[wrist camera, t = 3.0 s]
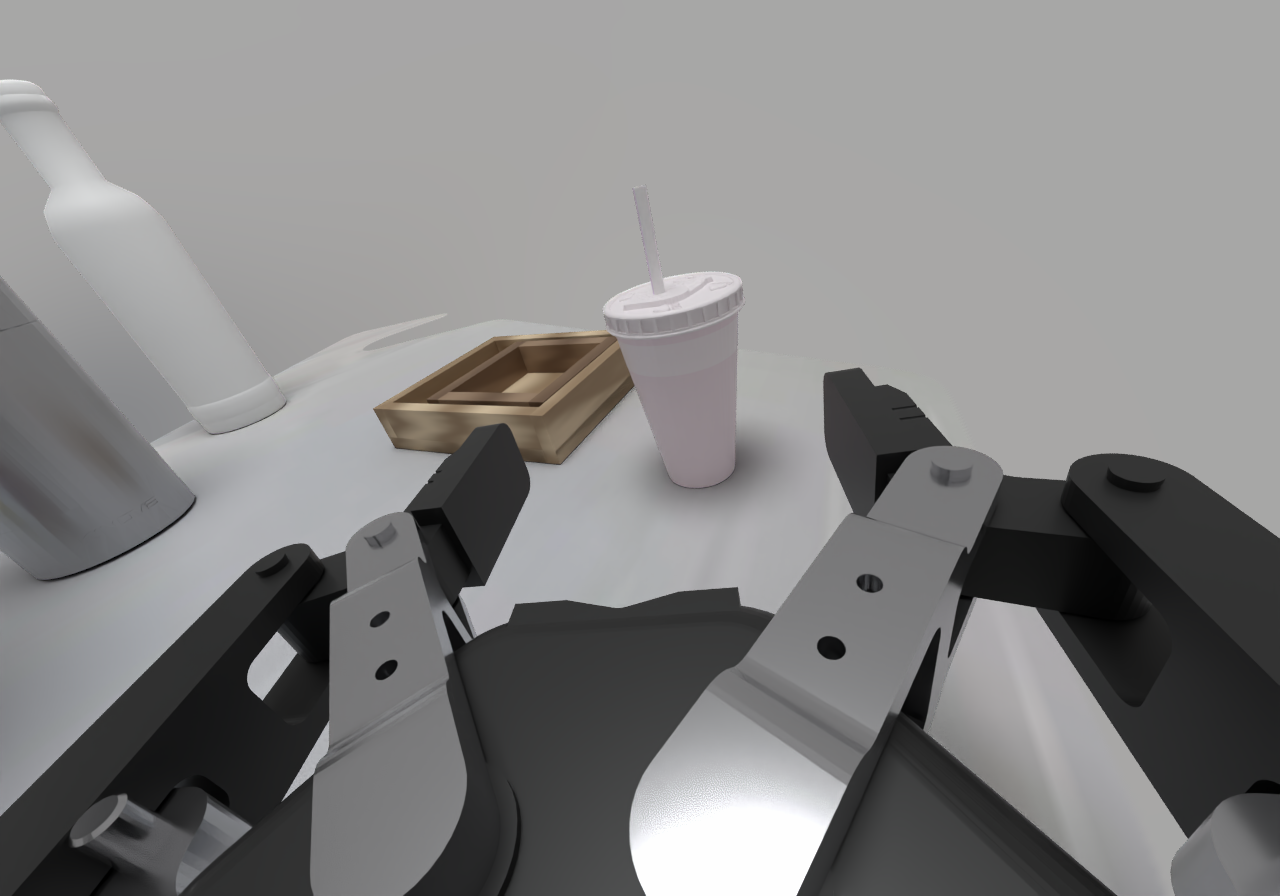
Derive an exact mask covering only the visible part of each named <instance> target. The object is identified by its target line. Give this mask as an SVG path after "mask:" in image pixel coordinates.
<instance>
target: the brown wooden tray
mask: <svg viewBox="0 0 1280 896" xmlns="http://www.w3.org/2000/svg"><path fill="white" fill-rule="evenodd" d="M633 386H634V383H633V380H632V377H631V375H630V372H629V370H628V367H627V365H626V362H625V360H624V357H623V354H622V351H621V348H620V346H619V343H618V340H617V338H616V337H615V336H612V335H611V334H610V333H609V332H607V330H601V331H584V332H568V333H551V334H534V335H518V336H501V337H493V338H491V339H489V340H488V341H486V342H484V343H483V344H481V345H479V346H478V347H476V348H474V349H473V350H471V351H469V352H468V353H466V354H464V355H463V356H461V357H459V358H458V359H456V360H454V361H452V362H451V363H449V364H447V365H446V366H444V367H442V368H441V369H439V370H437V371H436V372H434V373H432V374H431V375H429V376H427V377H426V378H424V379H422V380H421V381H419V382H417V383H415V384H414V385H412V386H410V387H409V388H407V389H405V390H404V391H402V392H400V393H399V394H397V395H395V396H394V397H392V398H390V399H389V400H387V401H385V402H384V403H382V404H380V405H378V406H377V407H375V408H373V410H374V411H375V413H376V415H377V417H378V418H379V420H380V422H381V424H382V425H383V427H384V429H385V431H386V432H387V434H388V436H389V438H390V439H391V441H392V443H393V445H394V446H395V448H401V449H411V450H421V451H431V452H441V453H451V454H453V453H454V452H456V451H457V450H458V449H459V448H460V447H461V445H462V444H463V443H464V442H465V440H466V439H467V438H468V436H469V435H470V434H471V433H472V431H473V430H474V429H475V428H476V427H480V426H487V425H493V424H499V423H505V424H507V425H508V426H509V428H510V429H511V431H512V433H513V436H514V438H515V441H516V443H517V446H518V448H519V450H520V453H521V455H522V458H523V460H524V461H531V462H541V463H551V464H561V463H562V462H563V461H564V460H565V459H566V458H567V457H568V456H569V454H570V453H571V452H572V451H573V450H574V449H575V448H576V447H577V446H578V445H579V444H580V443H581V442H582V441H583V440H584V438H585V437H586V436H587V435H588V434H589V433H590V432H591V431H592V430H593V429H594V428H595V427H596V426H597V425H598V424H599V422H600V421H601V420H602V419H603V418H604V417H605V416H606V415H607V414H608V413H609V412H610V411H611V410H612V409H613V408H614V406H615V405H616V404H617V403H618V402H619V401H620V400H621V399H622V398H623V397H624V396H625V395H626V394H627V393H628V392H629V390H630V389H631V388H632V387H633Z"/></svg>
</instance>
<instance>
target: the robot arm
mask: <svg viewBox="0 0 1280 896" xmlns="http://www.w3.org/2000/svg"><path fill="white" fill-rule="evenodd" d="M823 389H824V433H825V442H826V448H827V452H828V455H829V458H830V460H831V462H832V465H833V467H834V469H835V471H836V474H837V476H838V478H839V481H840V483H841V485H842V487H843V490H844V492H845V494H846V496H847V499H848V501H849V503H850V505H851V508H852V510H853V512H854V513H851V514H849V515H848V516H847V517H846V518H845V519H844V520H843V521H842V523H841V524H840V525H839V527H838V528H837V530H836V531H835V532H834V534H833V535H832V537H831V538H830V539H829V541H828V542H827V544H826V545H825V546H824V548H823V549H822V550H821V552H820V553H819V555H818V556H817V557H816V559H815V560H814V562H813V563H812V564H811V566H810V567H809V568H808V570H807V571H806V573H805V574H804V575H803V577H802V578H801V580H800V581H799V582H798V584H797V585H796V587H795V588H794V589H793V591H792V592H791V593H790V595H789V596H788V598H787V599H786V600H785V602H784V603H783V605H782V606H781V607H780V609H779V610H778V611H777V613H776V614H772V613H769V612H767V611H763V610H759V609H756V608H751V607H746V606H741V604H740V598H739V592H738V587H734V588H721V589H708V590H695V591H682V592H676V593H673V594H669V595H666V596H662V597H659V598H656V599H652V600H649V601H645V602H642V603H638V604H635V605H631V606H628V607H624V608H611V607H605V606H599V605H592V604H586V603H580V602H574V601H568V600H563V601H550V602H537V603H523V604H515V607H514V609H513V612H512V615H511V617H510V620H509V622H508V623H506V624H503V625H500V626H498V627H495V628H493V629H491V630H489V631H487V632H485V633H483V634H481V635H479V636H477V635H476V632H475V629H474V627H473V624H472V621H471V619H470V616H469V613H468V610H467V608H466V605H465V603H464V601H463V599H462V598H461V596H460V594H459V593H460V591H461V589H462V588H463V587H475V586H485V584H486V582H487V580H488V578H489V576H490V574H491V571H492V569H493V567H494V565H495V563H496V561H497V559H498V557H499V555H500V553H501V550H502V548H503V546H504V544H505V542H506V540H507V538H508V536H509V534H510V532H511V529H512V527H513V525H514V523H515V521H516V519H517V517H518V515H519V513H520V511H521V509H522V506H523V504H524V502H525V500H526V498H527V496H528V494H529V490H530V477H529V473H528V470H527V467H526V465H525V462H524V460H523V458H522V455H521V453H520V450H519V448H518V446H517V443H516V441H515V438H514V436H513V433H512V431H511V429H510V428H509V426H508V425H507V424H505V423H499V424H493V425H487V426H480V427H476V428H475V429H474V430H473V431H472V433H471V434H470V435H469V436H468V438H467V439H466V440H465V442H464V443H463V444H462V445H461V447H460V448H459V449H458V450H457V451H456V452H454V453H453V454H452V455H450V456H449V457H448V458H446V459H445V460H444V462H443V463H442V464H441V465H440V467H439V468H438V469H437V470H436V474H433V475H432V477H431V478H430V479H429V480H428V484H425V485H424V487H423V488H422V489H421V490H420V492H419V493H418V494H417V495H416V497H415V498H414V499H413V501H412V502H411V503H410V504H409V506H408V507H407V508H406V509H405V511H404V512H397V513H392V514H388V515H385V516H382V517H380V518H378V519H376V520H374V521H372V522H370V523H369V524H367V525H366V526H364V527H363V528H361V529H360V530H359V531H358V532H357V533H356V534H354V535H353V537H352V538H351V539H350V540H349V542H348V544H347V546H346V551H345V552H342V553H338V554H335V555H332V556H329V557H326V558H323V559H319V558H318V557H317V556H316V554H315V553H314V552H313V550H312V549H311V548H310V547H309V546H308V545H307V544H301V543H300V544H293V545H289V546H286V547H283V548H281V549H278V550H276V551H274V552H272V553H270V554H269V555H267V556H265V557H264V558H262V559H260V560H259V561H258V562H256V563H255V564H254V565H252V566H251V567H250V568H249V569H248V570H247V571H245V572H244V573H243V574H242V575H241V576H240V577H239V578H238V579H237V580H236V581H235V582H234V583H233V584H232V585H231V586H230V587H229V588H228V589H227V590H226V591H225V592H224V593H223V594H222V595H221V596H220V597H219V598H218V599H217V600H216V601H215V602H214V603H213V604H212V605H211V606H210V607H209V608H208V609H207V610H206V611H205V612H204V613H203V614H202V615H201V616H200V617H199V618H198V619H197V620H196V621H195V622H194V623H193V624H192V625H191V626H190V627H189V628H188V629H187V630H186V631H185V632H184V633H183V634H182V635H181V636H180V637H179V638H178V639H177V640H176V641H175V642H174V643H173V644H172V645H171V646H170V647H169V648H168V649H167V650H166V651H165V652H164V653H163V654H162V655H161V656H160V657H159V658H158V659H157V660H156V661H155V662H154V663H153V664H152V665H151V666H150V667H149V668H148V669H147V670H146V671H145V672H144V673H143V674H142V675H141V676H140V677H139V678H138V679H137V680H136V681H135V682H134V683H133V684H132V685H131V686H130V687H129V688H128V689H127V690H126V691H125V692H124V693H123V694H122V695H121V696H120V697H119V698H118V699H117V700H116V701H115V702H114V703H113V704H112V705H111V706H110V707H109V708H108V709H107V710H106V711H105V712H104V713H103V714H102V715H101V716H100V717H99V718H98V719H97V720H96V721H95V722H94V723H93V724H92V725H91V726H90V727H89V728H88V729H87V730H86V731H85V732H84V733H83V734H82V735H81V736H80V737H79V738H78V739H77V740H76V741H75V742H74V743H73V744H72V745H71V746H70V747H69V748H68V749H67V750H66V751H65V752H64V753H63V754H62V755H61V756H60V757H59V758H58V759H57V760H56V761H55V762H54V763H53V764H52V765H51V766H50V767H49V768H48V769H47V770H46V771H45V772H44V773H43V774H42V775H41V776H40V777H39V778H38V779H37V780H36V781H35V782H34V783H33V784H32V785H31V786H30V787H29V788H28V789H27V790H26V791H25V792H24V793H23V794H22V795H21V796H20V797H19V798H18V799H17V800H16V801H15V802H14V803H13V804H12V805H11V806H10V807H9V808H8V809H7V810H6V811H5V812H4V813H3V814H2V815H1V816H0V896H1117V895H1116V894H1115V893H1113V892H1112V891H1111V890H1110V889H1109V888H1108V887H1106V886H1105V885H1104V884H1103V883H1102V882H1101V881H1099V880H1098V879H1097V878H1096V877H1095V876H1093V875H1092V874H1091V873H1090V872H1089V871H1088V870H1086V869H1085V868H1084V867H1083V866H1082V865H1081V864H1079V863H1078V862H1077V861H1076V860H1075V859H1074V858H1072V857H1071V856H1070V855H1069V854H1068V853H1067V852H1065V851H1064V850H1063V849H1062V848H1061V847H1059V846H1058V845H1057V844H1056V843H1055V842H1054V841H1052V840H1051V839H1050V838H1049V837H1048V836H1047V835H1045V834H1044V833H1043V832H1042V831H1041V830H1040V829H1038V828H1037V827H1036V826H1035V825H1034V824H1033V823H1031V822H1030V821H1029V820H1028V819H1027V818H1025V817H1024V816H1023V815H1022V814H1021V813H1020V812H1018V811H1017V810H1016V809H1015V808H1014V807H1013V806H1011V805H1010V804H1009V803H1008V802H1007V801H1006V800H1004V799H1003V798H1002V797H1001V796H1000V795H999V794H997V793H996V792H995V791H994V790H993V789H991V788H990V787H989V786H988V785H987V784H986V783H984V782H983V781H982V780H981V779H980V778H979V777H977V776H976V775H975V774H974V773H973V772H972V771H970V770H969V769H968V768H967V767H966V766H965V765H963V764H962V763H961V762H960V761H959V760H957V759H956V758H955V757H954V756H953V755H952V754H950V753H949V752H948V751H947V750H946V749H945V748H943V747H942V746H941V745H940V744H939V743H938V742H936V741H935V740H934V739H933V738H932V737H931V736H929V735H928V732H929V729H930V727H931V724H932V721H933V718H934V715H935V712H936V709H937V706H938V702H939V699H940V695H941V692H942V688H943V685H944V682H945V679H946V676H947V673H948V670H949V668H950V665H951V663H952V660H953V658H954V655H955V653H956V650H957V648H958V645H959V642H960V640H961V637H962V635H963V632H964V630H965V627H966V625H967V622H968V620H969V617H970V615H971V612H972V609H973V607H974V604H975V602H976V599H977V598H983V599H989V600H995V601H1001V602H1007V603H1013V604H1019V605H1024V606H1030V607H1036V609H1037V611H1038V612H1039V614H1040V615H1041V617H1042V618H1043V620H1044V621H1045V623H1046V624H1047V626H1048V627H1049V629H1050V630H1051V632H1052V633H1053V635H1054V636H1055V638H1056V639H1057V641H1058V642H1059V644H1060V646H1061V647H1062V649H1063V650H1064V652H1065V653H1066V655H1067V656H1068V658H1069V659H1070V661H1071V662H1072V664H1073V665H1074V667H1075V668H1076V670H1077V671H1078V673H1079V674H1080V676H1081V677H1082V679H1083V680H1084V682H1085V683H1086V685H1087V686H1088V688H1089V689H1090V691H1091V693H1092V694H1093V696H1094V697H1095V698H1096V700H1097V702H1098V703H1099V705H1100V706H1101V708H1102V709H1103V711H1104V712H1105V714H1106V715H1107V717H1108V718H1109V720H1110V721H1111V723H1112V724H1113V726H1114V727H1115V729H1116V730H1117V732H1118V733H1119V735H1120V736H1121V738H1122V739H1123V741H1124V743H1125V744H1126V746H1127V747H1128V749H1129V750H1130V752H1131V753H1132V755H1133V756H1134V758H1135V759H1136V761H1137V762H1138V764H1139V765H1140V767H1141V768H1142V770H1143V771H1144V773H1145V774H1146V776H1147V777H1148V779H1149V780H1150V782H1151V783H1152V785H1153V786H1154V788H1155V789H1156V791H1157V792H1158V794H1159V796H1160V797H1161V799H1162V800H1163V802H1164V803H1165V805H1166V806H1167V808H1168V809H1169V811H1170V812H1171V814H1172V815H1173V816H1174V818H1175V820H1176V821H1177V823H1178V824H1179V826H1180V827H1181V829H1182V830H1183V832H1184V833H1185V835H1186V836H1187V838H1188V840H1187V841H1186V842H1185V843H1184V844H1183V846H1182V847H1181V848H1180V849H1179V850H1178V851H1177V852H1176V854H1175V856H1174V858H1173V860H1172V866H1171V882H1172V887H1173V890H1174V894H1175V896H1280V538H1278V537H1277V536H1275V535H1274V534H1273V533H1271V532H1270V531H1268V530H1267V529H1266V528H1264V527H1263V526H1262V525H1260V524H1259V523H1257V522H1256V521H1255V520H1253V519H1252V518H1251V517H1249V516H1248V515H1246V514H1245V513H1244V512H1242V511H1241V510H1239V509H1238V508H1236V507H1235V506H1234V505H1232V504H1231V503H1230V502H1228V501H1227V500H1226V499H1224V498H1223V497H1221V496H1220V495H1219V494H1217V493H1216V492H1214V491H1213V490H1212V489H1210V488H1209V487H1208V486H1206V485H1205V484H1203V483H1202V482H1201V481H1199V480H1198V479H1196V478H1195V477H1194V476H1192V475H1191V474H1189V473H1187V472H1186V471H1184V470H1182V469H1180V468H1178V467H1175V466H1173V465H1170V464H1168V463H1164V462H1161V461H1158V460H1155V459H1150V458H1147V457H1142V456H1136V455H1128V454H1097V455H1091V456H1087V457H1083V458H1081V459H1078V460H1077V461H1075V462H1074V463H1073V464H1072V465H1071V466H1070V469H1069V472H1068V476H1067V479H1066V481H1063V480H1049V479H1033V478H1021V477H1012V476H1006V475H1003V471H1002V469H1001V467H1000V466H999V464H998V463H997V462H996V461H994V460H993V459H992V458H990V457H988V456H986V455H985V454H983V453H980V452H978V451H975V450H971V449H967V448H963V447H956V446H952V445H951V444H950V443H949V442H948V440H947V439H946V438H945V437H944V436H943V435H942V434H941V432H940V431H939V430H938V429H937V428H936V427H935V426H934V424H933V423H932V422H931V421H930V420H929V419H928V418H926V417H925V414H924V413H923V412H922V411H921V410H920V408H919V407H918V408H917V405H916V404H915V403H914V402H913V400H912V399H911V398H910V397H909V396H908V395H907V394H906V393H905V392H902V391H900V390H898V389H896V388H894V387H892V386H889V385H881V386H874V385H873V384H872V382H871V381H870V380H869V378H868V377H867V376H866V375H865V373H864V372H863V371H862V369H861V368H854V369H847V370H841V371H835V372H828V373H825V375H824V381H823ZM194 497H195V495H194V494H193V493H192V492H191V491H190V489H189V488H188V487H187V486H186V485H185V484H184V483H183V481H182V480H181V479H180V478H179V477H178V476H177V475H176V473H175V472H174V471H173V470H172V469H171V468H170V467H169V465H168V464H167V463H166V462H165V461H164V460H163V459H162V457H161V456H160V455H159V454H158V453H157V451H156V450H155V449H154V448H153V447H152V446H151V445H150V443H149V442H148V441H147V440H146V439H145V438H144V437H143V436H142V435H141V433H139V431H138V430H137V429H136V428H135V427H134V425H133V424H132V423H131V422H130V421H129V420H128V419H127V418H126V417H125V415H124V414H123V413H122V412H121V411H120V410H119V409H118V408H117V406H116V405H115V404H114V403H113V402H112V401H111V400H110V398H109V397H108V396H107V395H106V394H105V393H104V392H103V391H102V390H101V388H100V387H99V386H98V385H97V384H96V383H95V382H94V380H93V379H92V378H91V377H90V376H89V375H88V374H87V373H86V371H85V370H84V369H83V368H82V367H81V366H80V365H79V364H78V362H77V361H76V360H75V359H74V358H73V357H72V356H71V355H70V354H69V352H68V351H67V350H66V349H65V348H64V347H63V346H62V344H61V343H60V342H59V341H58V340H57V339H56V338H55V337H54V335H53V334H52V333H51V332H50V331H49V330H48V329H47V328H46V326H45V325H44V324H43V323H42V322H41V321H39V320H38V318H37V317H36V316H35V315H34V313H33V312H32V311H31V310H30V309H29V308H28V307H27V306H26V304H25V303H24V302H23V301H22V300H21V299H20V298H19V297H18V295H17V294H16V293H15V292H14V291H13V290H12V289H11V288H10V286H9V285H8V284H7V283H6V282H5V281H4V280H3V279H2V277H1V276H0V550H1V551H2V552H3V553H4V554H6V555H7V556H8V557H10V558H11V559H12V560H13V561H15V562H16V563H17V564H18V565H20V566H21V567H22V568H24V569H25V570H26V571H27V572H29V573H30V574H31V575H33V576H34V577H35V578H37V579H42V580H48V579H54V578H59V577H63V576H67V575H70V574H74V573H77V572H79V571H82V570H85V569H88V568H90V567H93V566H95V565H97V564H100V563H102V562H104V561H107V560H109V559H111V558H113V557H115V556H117V555H119V554H121V553H123V552H125V551H127V550H129V549H131V548H133V547H134V546H136V545H138V544H140V543H142V542H143V541H145V540H147V539H148V538H150V537H152V536H153V535H155V534H156V533H158V532H160V531H161V530H163V529H164V528H165V527H167V526H168V525H170V524H171V523H172V522H174V521H175V520H176V519H177V518H179V517H180V516H181V515H182V514H183V513H184V512H185V511H186V510H187V509H188V508H189V507H190V506H191V504H192V503H193V501H194ZM276 632H278V633H279V634H280V635H281V636H282V637H283V638H284V639H285V640H286V641H287V642H288V643H289V644H290V645H291V646H292V647H293V649H294V650H295V651H296V652H297V654H296V656H295V657H294V658H293V660H292V661H291V663H290V664H289V665H288V667H287V668H286V669H285V671H284V672H283V674H282V675H281V676H280V678H279V679H278V680H277V682H276V683H275V684H274V686H273V687H272V689H271V690H270V691H269V693H268V694H267V695H266V697H265V698H264V700H263V701H262V700H261V699H260V698H259V697H258V696H257V695H255V694H254V693H253V692H252V691H251V690H250V688H249V686H248V683H247V674H248V670H249V667H250V665H251V663H252V662H253V660H254V659H255V658H256V657H257V655H258V654H259V653H260V652H261V650H262V649H263V648H264V647H265V645H266V644H267V643H268V642H269V640H270V639H271V638H272V637H273V635H274V634H275V633H276ZM328 721H329V748H328V752H327V754H326V755H325V756H324V757H323V758H322V759H320V761H319V762H318V764H317V766H316V769H315V773H314V774H313V775H312V776H311V777H310V778H309V779H307V780H306V781H305V782H304V783H303V784H302V785H301V786H299V787H298V788H297V789H296V790H295V791H294V792H292V793H291V794H290V795H289V796H288V797H287V798H286V799H284V800H283V798H284V796H285V794H286V793H287V791H288V789H289V788H290V786H291V784H292V783H293V781H294V779H295V777H296V776H297V774H298V772H299V771H300V769H301V767H302V765H303V764H304V762H305V760H306V759H307V757H308V755H309V754H310V752H311V750H312V748H313V747H314V745H315V743H316V742H317V740H318V738H319V737H320V735H321V733H322V731H323V730H324V728H325V726H326V725H327V723H328ZM282 800H283V801H282ZM281 801H282V802H281Z"/></svg>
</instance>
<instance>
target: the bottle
mask: <svg viewBox="0 0 1280 896" xmlns="http://www.w3.org/2000/svg"><path fill="white" fill-rule="evenodd" d="M0 123H1V124H2V125H3V127H4V128H5V129H6V131H7V132H8V133H9V134H10V136H11V137H12V138H13V140H14V141H15V142H16V144H17V145H18V146H19V148H20V149H21V150H22V152H23V153H24V154H25V155H26V157H27V158H28V159H29V161H30V162H31V163H32V165H33V166H34V167H35V169H36V170H37V171H38V173H39V174H40V175H41V176H42V178H43V179H44V180H45V182H46V183H47V184H48V186H49V187H50V188H51V192H50V194H49V197H48V200H47V203H46V206H45V208H44V215H45V219H46V222H47V225H48V228H49V230H50V233H51V235H52V238H53V240H54V241H55V243H56V244H57V245H58V246H59V248H60V249H61V250H62V251H63V253H64V254H65V255H66V256H67V258H68V259H69V260H70V261H71V262H72V264H73V265H74V266H75V268H76V269H77V270H78V271H79V273H80V274H81V275H82V276H83V277H84V279H85V280H86V281H87V282H88V284H89V285H90V286H91V288H92V289H93V290H94V291H95V293H96V294H97V295H98V296H99V298H100V299H101V300H102V301H103V303H104V304H105V305H106V306H107V308H108V309H109V310H110V311H111V313H112V314H113V315H114V316H115V317H116V319H117V320H118V321H119V323H120V324H121V325H122V326H123V328H124V329H125V330H126V331H127V333H128V334H129V335H130V336H131V338H132V339H133V340H134V341H135V343H136V344H137V345H138V346H139V348H140V349H141V350H142V351H143V353H144V354H145V355H146V356H147V358H148V359H149V360H150V361H151V363H152V364H153V365H154V366H155V367H156V369H157V370H158V371H159V373H160V374H161V375H162V376H163V378H164V379H165V380H166V381H167V382H168V384H169V385H170V386H171V387H172V389H173V390H174V391H175V392H176V394H177V395H178V396H179V397H180V399H181V400H182V401H183V403H184V404H185V405H186V407H187V409H188V411H189V412H190V413H191V415H192V416H193V417H194V418H195V419H196V420H197V421H198V422H199V423H200V424H201V425H202V426H203V428H204V429H205V430H206V431H207V432H209V433H211V434H219V433H225V432H229V431H233V430H236V429H239V428H242V427H245V426H248V425H250V424H253V423H255V422H257V421H260V420H262V419H264V418H266V417H268V416H270V415H272V414H273V413H275V412H276V411H278V410H279V409H281V408H282V407H283V406H284V405H285V403H286V399H285V397H284V396H283V394H282V393H281V391H280V388H279V387H278V385H277V383H276V382H275V380H274V379H273V378H272V376H271V375H269V374H268V372H267V370H266V369H265V368H264V366H263V365H262V363H261V362H260V360H259V359H258V357H257V356H256V354H255V353H254V351H253V350H252V348H251V347H250V345H249V344H248V342H247V341H246V339H245V338H244V336H243V335H242V334H241V332H240V330H239V329H238V327H237V326H236V324H235V323H234V321H233V320H232V318H231V317H230V315H229V314H228V312H227V311H226V310H225V308H224V307H223V305H222V304H221V302H220V301H219V299H218V298H217V296H216V295H215V293H214V292H213V290H212V289H211V287H210V286H209V284H208V283H207V281H206V280H205V278H204V277H203V275H202V274H201V272H200V271H199V269H198V268H197V266H196V265H195V263H194V262H193V260H192V259H191V257H190V256H189V254H188V253H187V251H186V250H185V248H184V247H183V245H182V244H181V242H180V241H179V239H178V238H177V236H176V235H175V234H174V232H173V231H172V229H171V228H170V226H169V225H168V223H167V222H166V220H165V219H164V218H163V217H162V216H161V215H160V214H159V213H158V212H157V211H156V210H155V209H154V208H153V207H152V206H150V205H149V204H148V203H147V202H146V201H145V200H143V199H142V198H141V197H140V196H139V195H137V194H135V193H132V192H130V191H128V190H126V189H124V188H121V187H119V186H117V185H114V184H113V183H110V182H108V181H106V180H105V178H104V177H103V175H102V174H101V172H100V171H99V170H98V168H97V167H96V165H95V164H94V162H93V161H92V160H91V158H90V157H89V155H88V154H87V152H86V151H85V150H84V148H83V147H82V145H81V144H80V143H79V141H78V140H77V138H76V137H75V136H74V134H73V133H72V131H71V130H70V128H69V127H68V126H67V124H66V123H65V121H64V120H63V118H62V117H61V116H60V114H59V110H58V107H57V106H56V105H55V103H54V102H53V101H51V100H50V99H49V98H48V97H47V96H46V94H45V93H44V91H43V90H42V89H41V87H39V86H38V85H36V84H33V83H32V82H29V81H23V80H0Z"/></svg>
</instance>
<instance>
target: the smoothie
mask: <svg viewBox="0 0 1280 896" xmlns="http://www.w3.org/2000/svg"><path fill="white" fill-rule="evenodd" d="M633 194H634V199H635V204H636V209H637V214H638V219H639V224H640V229H641V235H642V240H643V245H644V250H645V255H646V260H647V265H648V270H649V276H650V282H647V283H644V284H641V285H638V286H635V287H633V288H630V289H628V290H626V291H623V292H621V293H620V294H618V295H616V296H614V297H613V298H612V299H610V300H609V301H608V302H607V303H606V304H605V305H604V307H603V313H604V317H605V321H606V329H607V332H609V333H610V334H611V335H612V336H615V337H616V338H617V340H618V343H619V346H620V348H621V351H622V354H623V357H624V360H625V362H626V365H627V367H628V370H629V372H630V375H631V377H632V380H633V383H634V385H635V388H636V391H637V393H638V396H639V398H640V401H641V404H642V406H643V409H644V412H645V414H646V417H647V420H648V422H649V425H650V427H651V430H652V433H653V435H654V438H655V441H656V443H657V446H658V448H659V451H660V454H661V456H662V459H663V462H664V464H665V467H666V469H667V472H668V475H669V477H670V479H671V480H672V481H673V482H674V483H676V484H678V485H680V486H683V487H687V488H704V487H709V486H713V485H716V484H718V483H720V482H722V481H724V480H725V479H727V478H728V477H729V476H730V475H731V474H732V472H733V471H734V468H735V442H736V391H737V346H738V312H739V311H740V310H741V308H742V307H743V306H744V305H745V297H744V296H743V289H742V280H741V279H740V278H739V277H738V276H736V275H734V274H731V273H727V272H696V273H688V274H682V275H676V276H671V277H666V278H663V276H662V270H661V265H660V259H659V254H658V248H657V243H656V237H655V232H654V226H653V220H652V215H651V210H650V204H649V198H648V193H647V188H646V185H643V186H638V187H635V188H633Z"/></svg>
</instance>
